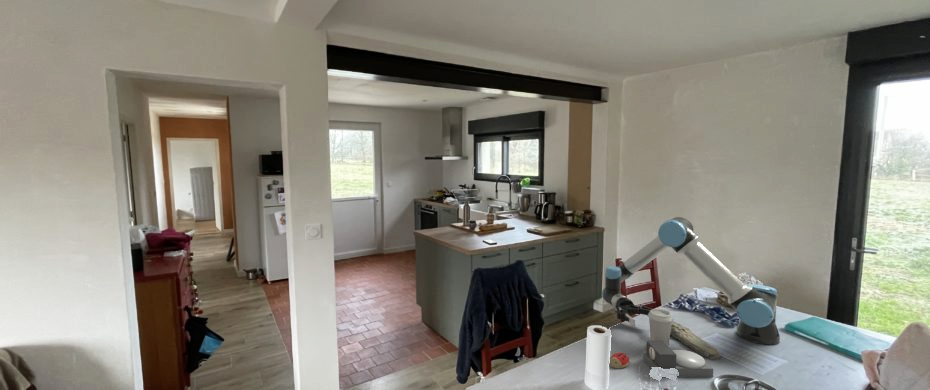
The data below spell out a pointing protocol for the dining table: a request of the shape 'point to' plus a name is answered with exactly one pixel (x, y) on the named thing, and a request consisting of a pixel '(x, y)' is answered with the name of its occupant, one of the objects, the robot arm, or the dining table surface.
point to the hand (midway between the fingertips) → (648, 321)
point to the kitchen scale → (676, 360)
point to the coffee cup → (660, 325)
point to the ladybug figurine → (619, 360)
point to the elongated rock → (693, 341)
